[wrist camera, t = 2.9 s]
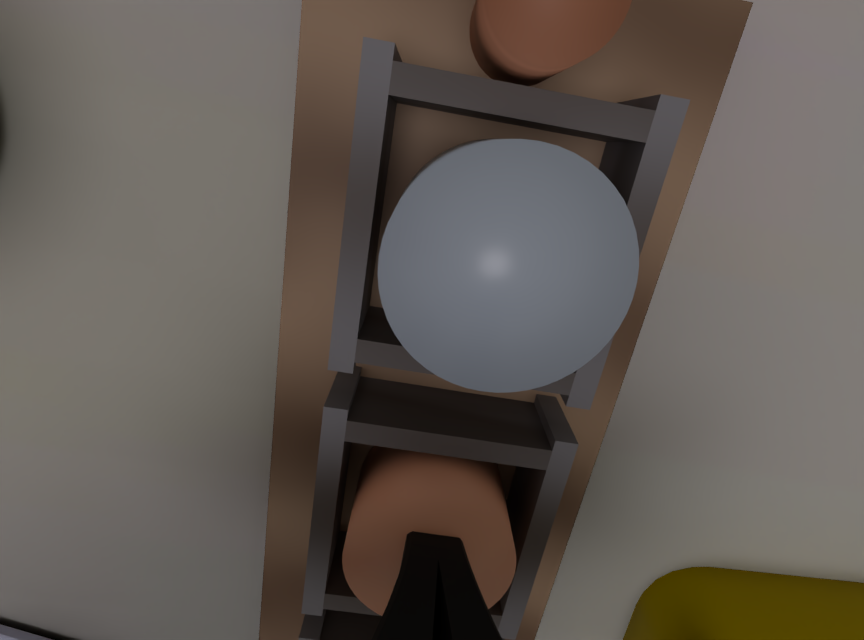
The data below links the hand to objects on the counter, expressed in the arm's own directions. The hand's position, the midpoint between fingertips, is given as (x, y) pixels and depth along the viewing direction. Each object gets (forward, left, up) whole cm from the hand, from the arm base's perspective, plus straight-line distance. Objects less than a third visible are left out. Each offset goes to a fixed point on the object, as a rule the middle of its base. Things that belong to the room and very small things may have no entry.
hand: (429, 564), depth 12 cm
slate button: (+8, +2, -2) cm, 8 cm away
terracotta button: (0, 0, -3) cm, 3 cm away
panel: (0, 0, -5) cm, 5 cm away
